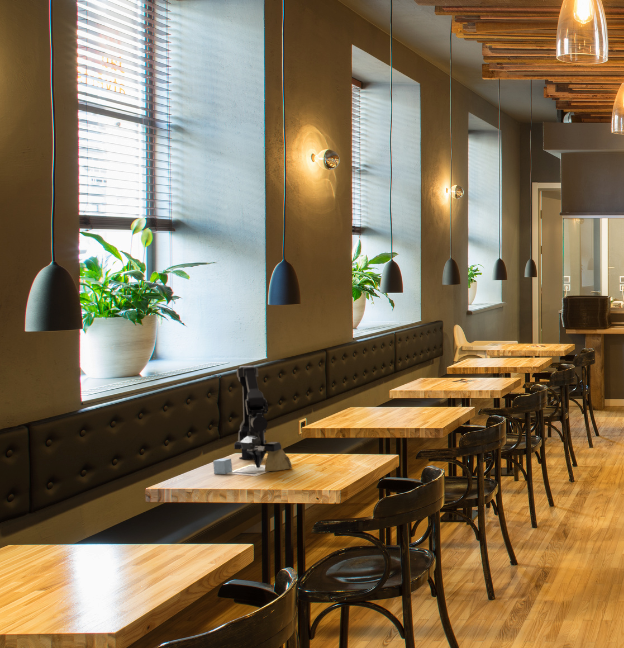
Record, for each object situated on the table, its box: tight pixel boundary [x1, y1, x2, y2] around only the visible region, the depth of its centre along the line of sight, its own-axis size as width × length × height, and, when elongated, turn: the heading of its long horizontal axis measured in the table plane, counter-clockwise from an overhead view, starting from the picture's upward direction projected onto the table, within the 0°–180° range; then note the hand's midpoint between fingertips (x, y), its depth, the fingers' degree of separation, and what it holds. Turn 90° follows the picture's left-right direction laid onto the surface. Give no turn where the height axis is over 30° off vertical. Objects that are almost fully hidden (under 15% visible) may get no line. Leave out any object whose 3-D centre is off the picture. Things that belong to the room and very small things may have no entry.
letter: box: [225, 463, 269, 477], centre depth 317 cm, size 18×14×1 cm
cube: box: [213, 458, 233, 475], centre depth 314 cm, size 5×5×5 cm
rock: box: [264, 447, 293, 473], centre depth 314 cm, size 11×9×10 cm
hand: (258, 467), depth 315 cm, fingers closed
